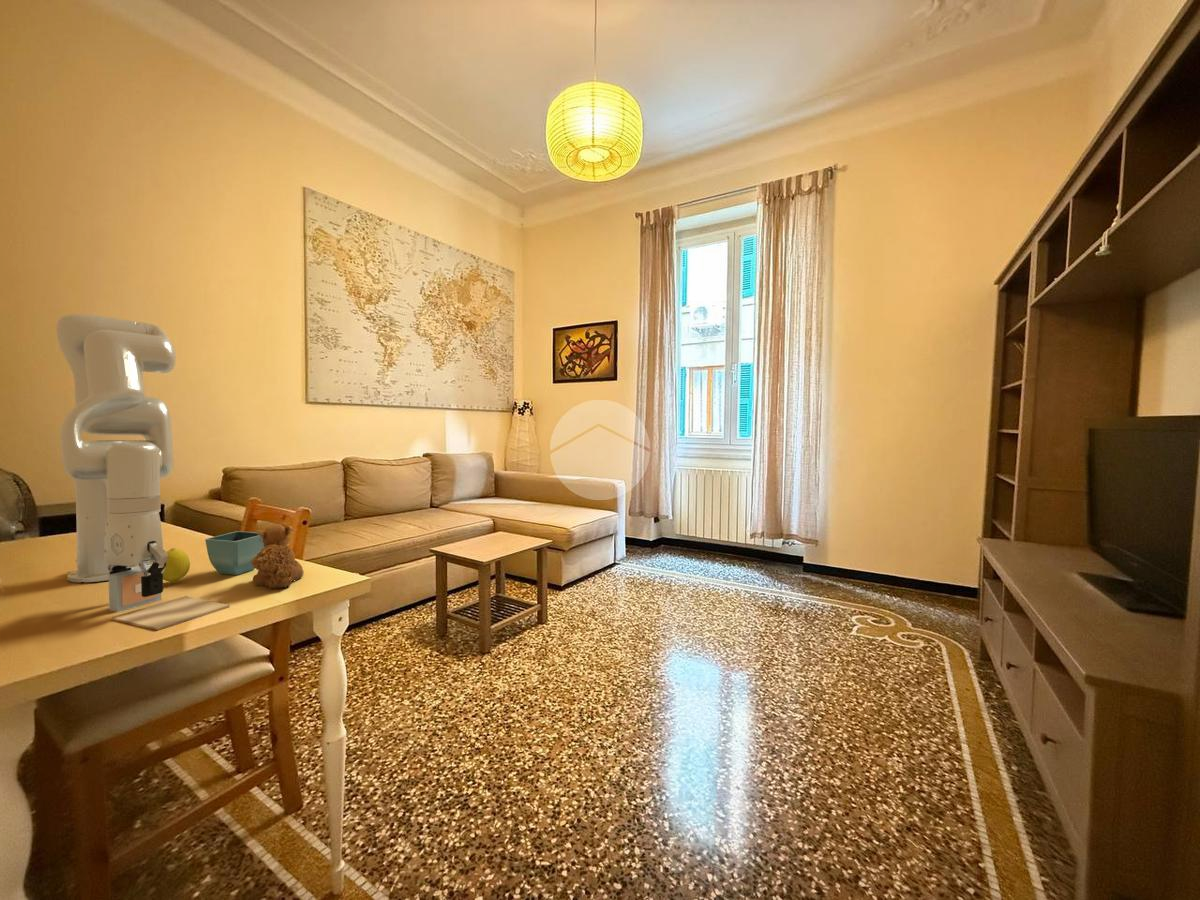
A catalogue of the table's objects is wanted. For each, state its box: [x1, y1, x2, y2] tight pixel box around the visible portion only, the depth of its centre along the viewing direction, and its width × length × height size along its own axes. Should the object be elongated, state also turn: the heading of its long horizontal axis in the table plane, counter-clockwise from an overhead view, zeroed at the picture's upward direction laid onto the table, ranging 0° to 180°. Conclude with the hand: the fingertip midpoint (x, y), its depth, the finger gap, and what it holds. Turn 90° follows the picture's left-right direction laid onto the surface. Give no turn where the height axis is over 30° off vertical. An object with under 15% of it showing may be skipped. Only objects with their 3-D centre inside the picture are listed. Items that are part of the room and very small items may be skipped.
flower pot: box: [204, 530, 264, 576], centre depth 117 cm, size 9×9×9 cm
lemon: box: [163, 547, 191, 584], centre depth 108 cm, size 6×6×8 cm
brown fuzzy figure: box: [250, 524, 304, 590], centre depth 109 cm, size 10×14×13 cm
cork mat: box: [111, 595, 230, 631], centre depth 91 cm, size 13×12×1 cm
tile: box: [108, 565, 162, 613], centre depth 95 cm, size 3×7×7 cm, turn 161°
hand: (136, 591), depth 94 cm, fingers open, 9 cm apart
